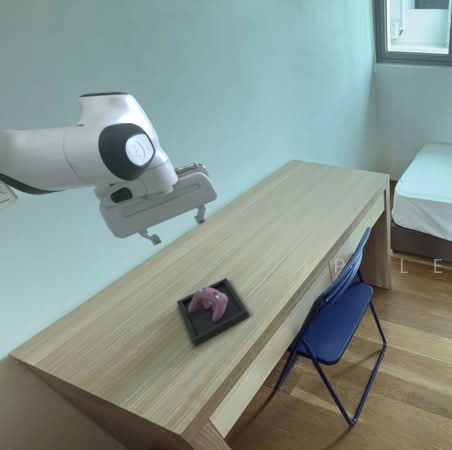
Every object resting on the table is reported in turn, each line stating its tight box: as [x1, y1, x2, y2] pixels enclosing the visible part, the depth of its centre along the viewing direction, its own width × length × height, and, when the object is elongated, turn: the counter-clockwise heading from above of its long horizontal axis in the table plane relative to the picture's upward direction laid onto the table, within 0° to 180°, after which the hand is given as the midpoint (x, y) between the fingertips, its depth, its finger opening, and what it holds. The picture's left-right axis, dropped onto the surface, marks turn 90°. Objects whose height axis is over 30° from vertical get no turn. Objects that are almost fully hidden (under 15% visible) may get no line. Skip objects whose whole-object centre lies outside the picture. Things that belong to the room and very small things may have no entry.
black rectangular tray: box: [176, 277, 250, 347], centre depth 80 cm, size 12×16×2 cm
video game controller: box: [188, 286, 228, 322], centre depth 78 cm, size 10×5×7 cm, turn 69°
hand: (180, 232), depth 70 cm, fingers open, 8 cm apart
